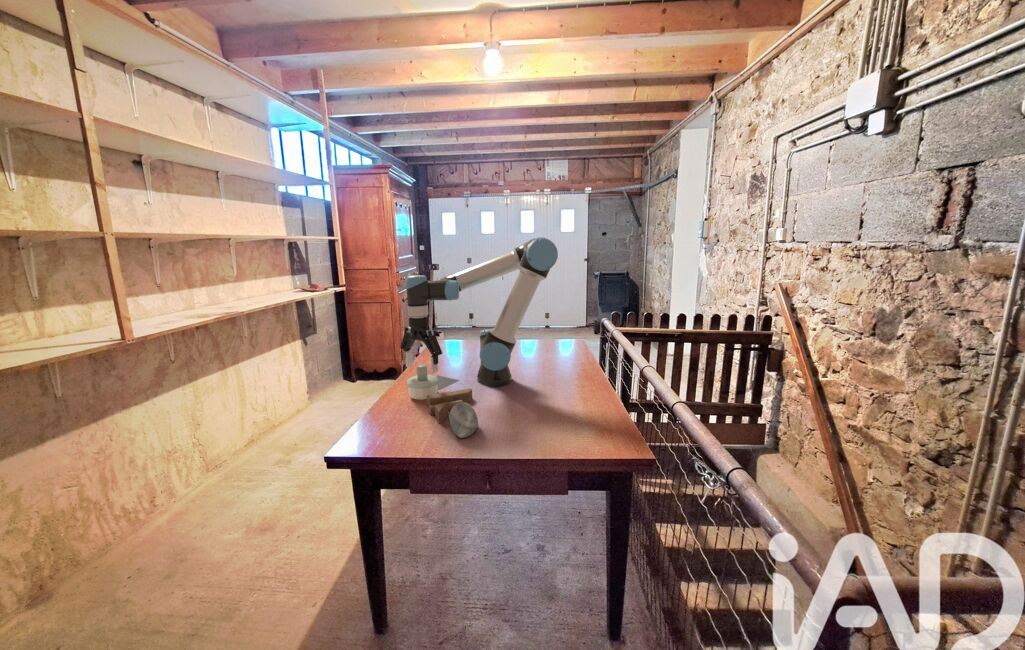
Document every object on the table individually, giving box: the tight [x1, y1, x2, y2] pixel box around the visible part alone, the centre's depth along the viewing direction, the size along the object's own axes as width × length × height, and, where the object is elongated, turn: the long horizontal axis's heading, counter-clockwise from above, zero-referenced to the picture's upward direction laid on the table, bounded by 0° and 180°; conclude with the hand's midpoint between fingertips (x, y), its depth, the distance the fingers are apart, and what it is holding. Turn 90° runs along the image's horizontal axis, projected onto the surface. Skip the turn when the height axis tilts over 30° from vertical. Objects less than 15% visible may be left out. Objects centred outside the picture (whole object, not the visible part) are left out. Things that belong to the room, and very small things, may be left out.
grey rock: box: [448, 402, 479, 439], centre depth 123 cm, size 14×10×10 cm
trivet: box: [436, 374, 461, 391], centre depth 167 cm, size 13×13×1 cm
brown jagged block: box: [426, 388, 473, 424], centre depth 139 cm, size 17×6×18 cm
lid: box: [406, 364, 438, 389], centre depth 152 cm, size 12×12×7 cm
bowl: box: [407, 384, 439, 400], centre depth 153 cm, size 11×11×5 cm
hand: (421, 369), depth 152 cm, fingers open, 13 cm apart
